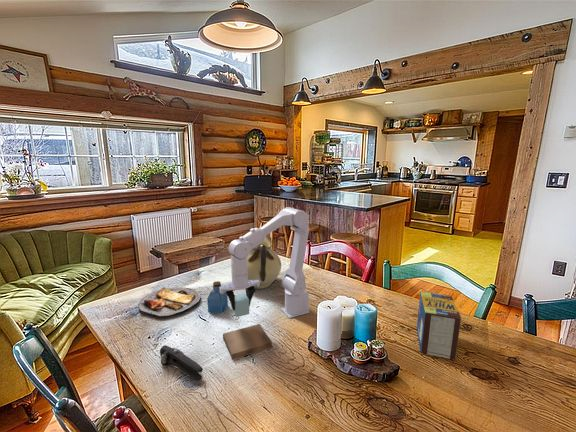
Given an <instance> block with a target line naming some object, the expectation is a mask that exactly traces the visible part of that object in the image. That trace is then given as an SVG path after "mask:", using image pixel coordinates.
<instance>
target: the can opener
mask: <svg viewBox="0 0 576 432" xmlns="http://www.w3.org/2000/svg"><path fill="white" fill-rule="evenodd" d="M159 355H160V359H161V360H160V364H161V365H162V366H163V367H169V366H172V367H176V369H178V370H180V371H181V372H182V373H184V374H185V375H187V376H188V377H190V378H192V379H194V380H196V381H198V380H201V379H202V377H203V376H202V375H201V373H202V372H203V370H204V369H203V367H202V366H201V365H200V364H198V362H196V361H195V360H193V359H192V358H190V357H189V356H187V355H186V354H185V353H184V352H183V351H182V350H180V349H178V348H176V347H171V346H169V345H163V346H161V347H160V350H159Z"/></svg>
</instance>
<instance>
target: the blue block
mask: <svg viewBox="0 0 576 432" xmlns="http://www.w3.org/2000/svg"><path fill="white" fill-rule="evenodd" d="M234 295H235V310H233V309H232V308H231V310H232V312H233V314H234V316H235V318H239V317H243V316H246V315H250V307H249V298H248V297H247V296H246V292H245V293H240V294H234Z"/></svg>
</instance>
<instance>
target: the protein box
mask: <svg viewBox="0 0 576 432" xmlns="http://www.w3.org/2000/svg"><path fill="white" fill-rule="evenodd" d="M419 292H420V293H419V302H418V303H419V304H418V312H417V320H416V321H417V322H416V332H417V339H418V344H419V351H420V352H421V353H423V354H422V355H424V354H428V355H427V356H429V355H432V356H431V357H434V356H437V357H436V358H439V357H443V358H442V359H444V358H449V359H454V360H455V361H456V358H457V350H458V344H459V336H460V329H461V322H462V316H461V314H460V311H459V310H458V308H457V305H456V303H455V301H454V298H453V296H452V295H448V294H440V293H433V292H426V291H419ZM421 353H420V354H421ZM449 359H448V360H449ZM454 360H453V361H454Z"/></svg>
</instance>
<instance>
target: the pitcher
mask: <svg viewBox="0 0 576 432" xmlns="http://www.w3.org/2000/svg"><path fill="white" fill-rule="evenodd" d="M272 247H273V241H272V237H271V235H270V233H269V234H268V235H266V236H265V240H264V241H263V242H261V243H260V244H259V245H257V246H256V247H254V248H253V249H252V250H251V251H250V253H249V255H248V256H247V269H248V280H259V281H260V286H259V287H257V286H254V288H255V289H265V288H267V287H270V286H271V285H272V283H273V282H274V281H275V280H276V279H277V278H278V277H279V275H280V273H281V270H282V262H281V261H282V260H281V258H280V256H279V255H278V253H276V252H275V251H274V250H273V249H272Z"/></svg>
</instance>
